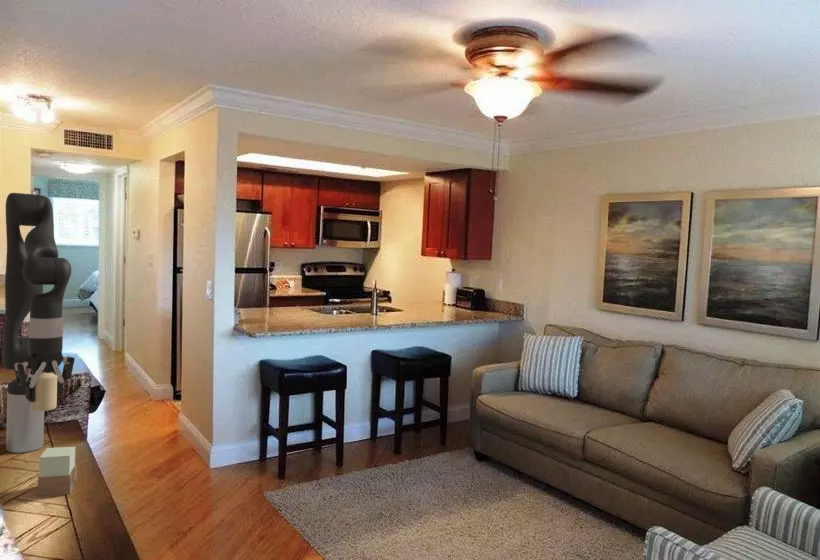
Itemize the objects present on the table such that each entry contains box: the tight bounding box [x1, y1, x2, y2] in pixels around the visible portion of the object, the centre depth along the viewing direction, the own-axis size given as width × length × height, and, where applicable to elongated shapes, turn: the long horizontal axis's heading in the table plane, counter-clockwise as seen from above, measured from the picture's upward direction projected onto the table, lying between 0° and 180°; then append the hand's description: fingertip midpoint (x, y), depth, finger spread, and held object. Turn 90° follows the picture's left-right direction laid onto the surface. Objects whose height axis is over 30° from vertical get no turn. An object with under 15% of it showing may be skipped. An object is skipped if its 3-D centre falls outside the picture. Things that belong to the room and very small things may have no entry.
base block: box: [37, 464, 78, 498], centre depth 145 cm, size 7×7×5 cm
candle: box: [31, 372, 58, 412], centre depth 148 cm, size 6×6×10 cm
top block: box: [38, 446, 76, 477], centre depth 145 cm, size 6×6×5 cm
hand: (44, 398), depth 148 cm, fingers closed on candle, 5 cm apart
